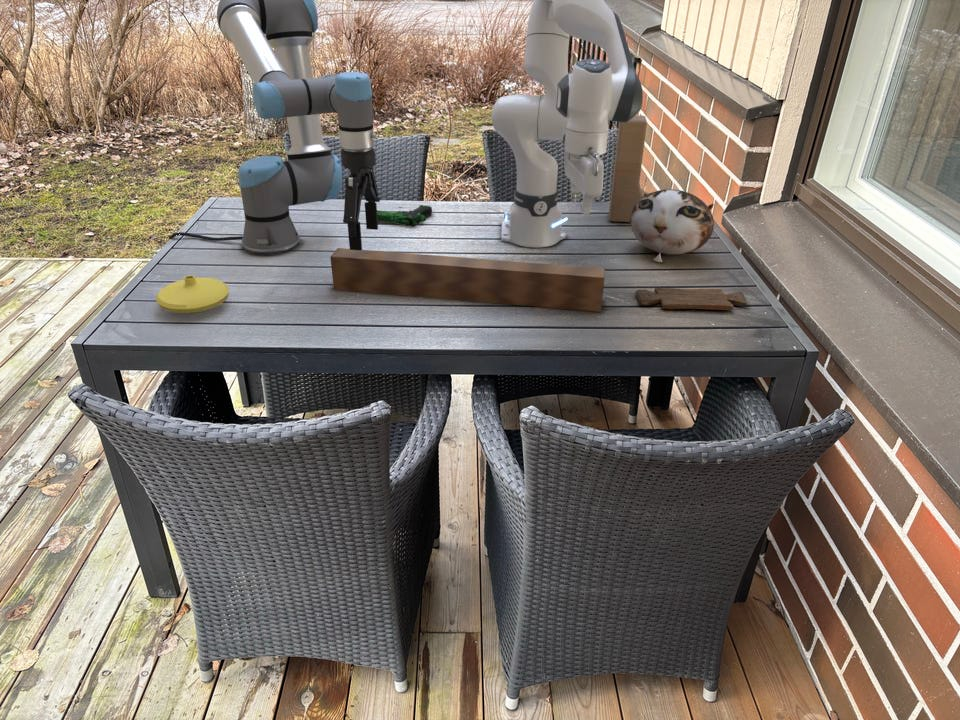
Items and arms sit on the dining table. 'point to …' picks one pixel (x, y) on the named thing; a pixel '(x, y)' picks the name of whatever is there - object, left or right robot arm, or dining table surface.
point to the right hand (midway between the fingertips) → (580, 207)
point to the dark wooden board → (691, 298)
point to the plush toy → (672, 222)
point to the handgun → (406, 216)
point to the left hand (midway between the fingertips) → (364, 239)
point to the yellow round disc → (192, 295)
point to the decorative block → (627, 169)
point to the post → (469, 279)
